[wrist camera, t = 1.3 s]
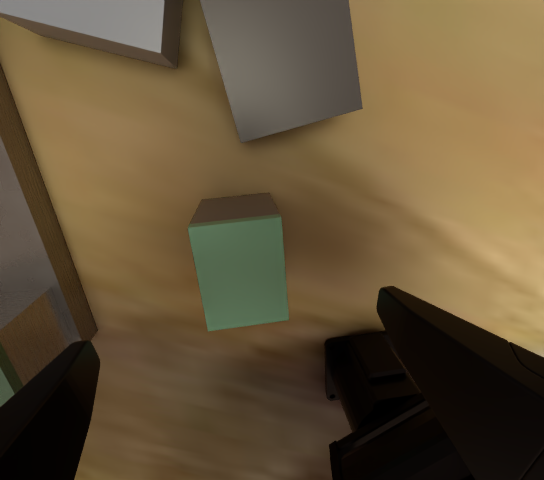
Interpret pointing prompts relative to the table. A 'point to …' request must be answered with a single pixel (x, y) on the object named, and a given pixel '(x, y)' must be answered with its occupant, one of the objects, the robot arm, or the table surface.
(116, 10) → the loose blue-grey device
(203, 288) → the block
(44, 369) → the robot arm
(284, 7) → the loose grey block
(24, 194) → the rail
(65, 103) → the table surface
